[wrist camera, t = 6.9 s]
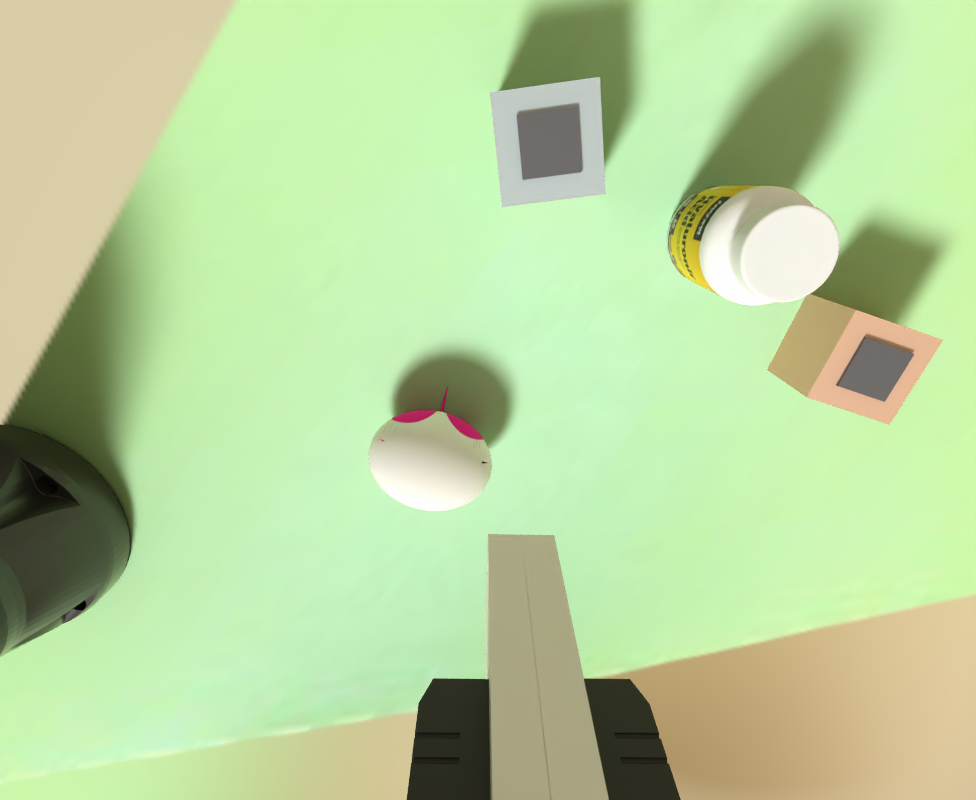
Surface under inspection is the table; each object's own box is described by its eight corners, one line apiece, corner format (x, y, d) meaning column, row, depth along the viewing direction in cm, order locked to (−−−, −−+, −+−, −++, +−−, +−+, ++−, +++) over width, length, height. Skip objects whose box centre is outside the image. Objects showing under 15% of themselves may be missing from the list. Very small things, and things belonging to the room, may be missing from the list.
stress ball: (495, 410, 40) (514, 387, 34) (472, 522, 38) (487, 521, 32) (390, 385, 39) (388, 357, 33) (361, 499, 37) (353, 493, 31)
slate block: (502, 204, 32) (502, 207, 27) (492, 107, 30) (489, 91, 26) (591, 193, 32) (606, 193, 27) (585, 94, 30) (600, 75, 25)
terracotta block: (766, 369, 35) (808, 398, 30) (807, 292, 33) (858, 310, 29) (838, 393, 36) (891, 425, 31) (882, 319, 34) (945, 341, 29)
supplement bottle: (676, 179, 31) (746, 174, 22) (771, 192, 31) (881, 193, 22) (653, 276, 33) (710, 310, 24) (744, 289, 33) (834, 327, 24)
